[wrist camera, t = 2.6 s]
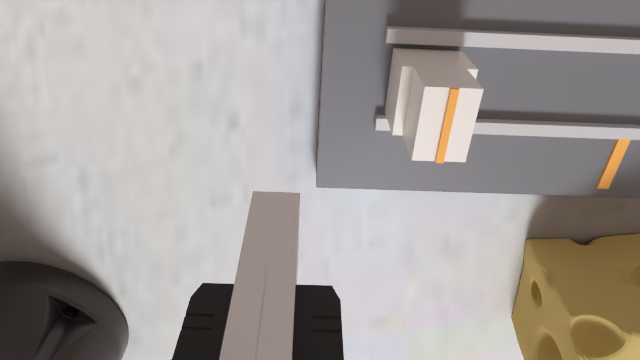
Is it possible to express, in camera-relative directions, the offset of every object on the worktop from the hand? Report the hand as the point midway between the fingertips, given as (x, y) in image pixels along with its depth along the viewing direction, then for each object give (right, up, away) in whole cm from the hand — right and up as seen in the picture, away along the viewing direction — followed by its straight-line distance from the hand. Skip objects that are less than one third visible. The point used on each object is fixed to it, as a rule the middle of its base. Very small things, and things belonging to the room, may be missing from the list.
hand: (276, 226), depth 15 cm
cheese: (+24, -7, +25) cm, 35 cm away
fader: (+8, +7, +13) cm, 16 cm away
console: (+16, +8, +15) cm, 23 cm away
